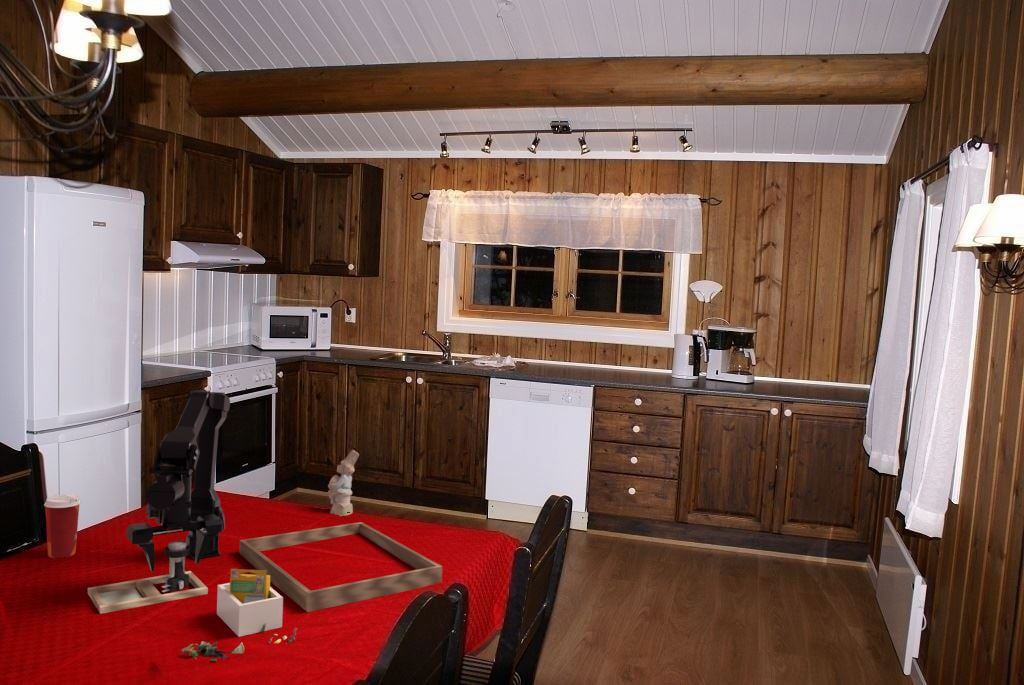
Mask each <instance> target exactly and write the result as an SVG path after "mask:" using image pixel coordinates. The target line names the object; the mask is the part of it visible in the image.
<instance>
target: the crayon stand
mask: <svg viewBox="0 0 1024 685" xmlns="http://www.w3.org/2000/svg"><path fill="white" fill-rule="evenodd" d="M216 594H217V596H216V615H217V616H218V617H219V618H220V619H221V620H222V621H223V623H224V624H226V625H227V626H228V627H229V629H231V631H232V632H233V633H234V634H235V635H236V636H237V637H239V638H240V637H243V636H248V635H253V634H256V633H262V632H261V630H262V628H263V625H264V624H265V623H266V627H265V629H264V630H265V631H264V632H267V631H271V630H275V629H280V628H282V627H283V612H284V611H283V610H284V606H283V605H284V597H283V596H282V595H280V593H278V592H277V591H276V590H275V589H273V587H272V586H270V591H269V599H264V600H259V601H254V602H249V603H244V604H242V603H241V602H240V601H239V600H238V599H237V598H236V597H235V596H233V595H232V594H231V593H230V582H227V583H222V584H217V593H216Z"/></svg>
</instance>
